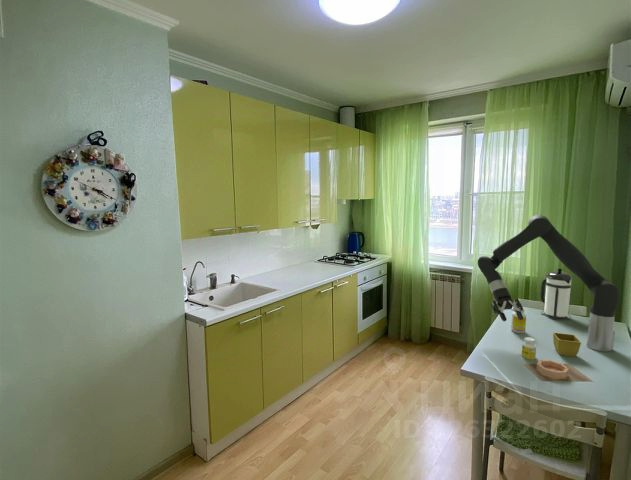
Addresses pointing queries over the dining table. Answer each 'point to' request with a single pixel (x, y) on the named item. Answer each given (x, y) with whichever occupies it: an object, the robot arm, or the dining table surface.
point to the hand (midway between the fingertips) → (513, 320)
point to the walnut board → (572, 376)
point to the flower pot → (566, 344)
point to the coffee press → (556, 294)
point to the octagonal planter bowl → (552, 369)
